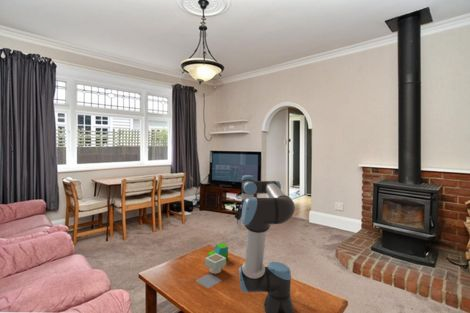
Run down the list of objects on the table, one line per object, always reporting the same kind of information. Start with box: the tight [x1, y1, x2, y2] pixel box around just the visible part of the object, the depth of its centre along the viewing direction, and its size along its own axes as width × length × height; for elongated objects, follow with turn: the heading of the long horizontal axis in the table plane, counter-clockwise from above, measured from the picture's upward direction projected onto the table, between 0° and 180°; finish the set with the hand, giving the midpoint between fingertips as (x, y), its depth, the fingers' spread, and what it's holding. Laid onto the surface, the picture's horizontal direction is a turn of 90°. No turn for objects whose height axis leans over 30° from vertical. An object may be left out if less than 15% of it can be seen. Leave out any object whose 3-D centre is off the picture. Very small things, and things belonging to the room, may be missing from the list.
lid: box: [204, 253, 227, 270], centre depth 168 cm, size 10×10×5 cm
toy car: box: [207, 242, 229, 260], centre depth 184 cm, size 10×13×10 cm
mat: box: [194, 272, 223, 289], centre depth 156 cm, size 12×12×1 cm
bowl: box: [209, 267, 222, 275], centre depth 168 cm, size 8×8×4 cm
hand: (247, 231), depth 162 cm, fingers open, 13 cm apart
